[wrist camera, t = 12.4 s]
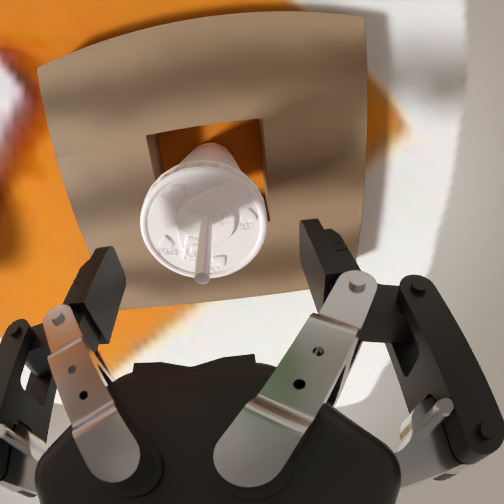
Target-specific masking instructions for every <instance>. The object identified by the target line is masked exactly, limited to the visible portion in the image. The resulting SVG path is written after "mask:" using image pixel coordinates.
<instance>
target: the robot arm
mask: <svg viewBox="0 0 504 504" xmlns="http://www.w3.org/2000/svg"><path fill="white" fill-rule="evenodd" d="M299 252H300V261H301V265H302V268H303V271H304V274H305V277H306V280H307V282H308V285H309V288H310V291H311V294H312V297H313V300H314V303H315V306H316V309H317V312H318V314H316V313H312V314H311V315H310V317H309V318H308V320H307V321H306V323H305V325H304V326H303V328H302V329H301V331H300V332H299V334H298V336H297V337H296V339H295V340H294V342H293V343H292V345H291V347H290V348H289V350H288V351H287V353H286V354H285V356H284V357H283V359H282V360H281V362H280V363H279V365H278V366H277V367H274V366H271V365H268V364H263V363H256V361H255V355H254V354H249V355H241V356H232V357H223V358H220V359H217V360H213V361H210V362H207V363H204V364H200V365H197V366H193V367H187V366H181V365H175V364H169V363H163V362H153V363H134V367H133V372H132V373H129V374H126V375H124V376H122V377H120V378H118V379H117V380H115V378H114V377H113V375H112V373H111V371H110V370H109V368H108V366H107V364H106V362H105V361H104V359H103V357H102V355H101V353H100V352H99V350H98V349H97V348H98V345H99V344H109V342H110V338H111V335H112V331H113V328H114V324H115V321H116V317H117V314H118V310H119V307H120V304H121V301H122V297H123V294H124V291H125V288H126V276H125V273H124V270H123V268H122V266H121V263H120V261H119V258H118V256H117V253H116V251H115V249H114V247H113V246H106V247H100V248H96V249H95V251H94V252H93V254H92V256H91V258H90V260H88V261H87V262H86V263H85V264H84V265H83V266H82V267H81V268H80V270H79V272H78V274H77V276H76V278H75V280H74V282H73V284H72V286H71V288H70V290H69V292H68V294H67V296H66V298H65V300H64V302H63V305H58V306H56V307H54V308H53V309H51V310H50V311H49V312H48V313H47V314H46V316H45V318H44V320H43V323H42V324H39V325H36V326H33V327H31V326H30V325H29V323H28V322H27V321H26V320H25V319H19V320H16V321H15V322H13V323H12V324H11V325H10V326H9V327H8V328H7V330H6V332H5V334H4V336H3V338H2V341H1V343H0V485H1V486H3V487H5V488H7V489H9V490H11V491H14V492H18V493H20V494H23V495H25V496H27V497H35V496H36V495H38V497H39V500H40V504H395V502H396V499H397V495H398V493H399V491H400V490H403V489H406V488H409V487H412V486H415V485H418V484H421V483H423V482H426V481H428V480H431V479H434V480H446V479H448V478H450V477H452V476H454V475H456V474H458V473H459V472H461V471H463V470H465V469H467V468H468V467H470V466H472V465H473V464H475V463H477V462H478V461H480V460H482V459H483V458H485V457H487V456H488V455H490V454H491V453H493V452H494V451H495V450H497V449H498V448H499V447H500V446H501V444H502V442H503V440H504V420H503V418H502V415H501V413H500V410H499V408H498V406H497V403H496V401H495V398H494V396H493V394H492V392H491V389H490V387H489V385H488V382H487V380H486V378H485V376H484V374H483V372H482V370H481V368H480V366H479V363H478V361H477V360H476V357H475V355H474V353H473V352H472V350H471V348H470V346H469V344H468V342H467V340H466V338H465V336H464V335H463V333H462V331H461V329H460V327H459V326H458V324H457V322H456V320H455V319H454V317H453V315H452V314H451V312H450V310H449V308H448V307H447V305H446V304H445V302H444V300H443V298H442V297H441V295H440V293H439V292H438V290H437V289H436V287H435V285H434V284H433V283H432V282H431V281H430V280H429V279H427V278H425V277H423V276H420V275H409V276H406V277H404V278H403V279H402V280H401V282H400V285H399V286H392V285H381V284H377V282H376V280H375V279H374V277H373V276H371V275H370V274H368V273H366V272H363V271H361V270H360V268H359V266H358V265H357V263H356V261H355V259H354V258H353V256H352V254H351V252H350V251H349V250H348V247H347V245H346V244H345V242H344V240H343V239H342V237H341V235H340V234H338V233H337V232H336V231H334V230H333V229H324V228H323V226H322V225H321V223H320V221H319V219H318V218H315V219H307V220H300V222H299ZM363 341H366V342H381V343H385V345H386V347H387V350H388V353H389V355H390V358H391V361H392V363H393V366H394V369H395V372H396V375H397V377H398V380H399V383H400V386H401V389H402V392H403V395H404V398H405V401H406V405H407V408H408V411H409V414H410V415H409V416H408V417H407V418H406V419H405V421H404V422H403V424H402V426H401V429H400V440H401V443H400V448H399V450H398V452H396V453H393V451H392V450H391V449H390V448H389V447H388V446H387V445H386V444H385V443H383V442H382V441H380V440H379V439H377V438H376V437H375V436H373V435H372V434H370V433H369V432H367V431H366V430H364V429H363V428H362V427H360V426H359V425H357V424H356V423H355V422H353V421H352V420H350V419H349V418H348V417H346V416H345V415H343V414H342V413H341V412H339V411H338V410H337V409H335V408H334V406H335V404H336V402H337V400H338V398H339V396H340V394H341V392H342V389H343V387H344V384H345V382H346V379H347V377H348V375H349V373H350V370H351V368H352V366H353V364H354V361H355V359H356V357H357V355H358V352H359V350H360V348H361V345H362V343H363ZM24 365H26V366H27V367H28V368H29V369H30V370H31V373H30V376H29V380H28V383H27V387H26V390H24V389H23V388H22V386H21V382H20V378H21V374H22V371H23V368H24ZM56 389H58V392H59V394H60V397H61V400H62V402H63V405H64V407H65V409H66V412H67V415H68V417H69V419H70V421H71V425H70V426H69V427H68V428H67V429H66V430H65V432H63V434H62V435H61V436H60V437H59V438H58V439H57V440H56V441H55V442H54V443H53V444H52V445H51V446H50V447H49V448H48V449H47V446H46V441H47V434H48V429H49V423H50V418H51V412H52V408H53V403H54V398H55V394H56Z"/></svg>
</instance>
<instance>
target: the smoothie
mask: <svg viewBox="0 0 504 504" xmlns="http://www.w3.org/2000/svg"><path fill="white" fill-rule="evenodd" d="M140 228H141V233H142V237H143V240H144V242H145V244H146V246H147V248H148V250H149V251H150V252H151V254H152V255H153V256H154V257H155V258H156V259H157V260H158V261H159V262H160V263H161V264H162V265H164V266H165V267H167V268H168V269H170V270H172V271H174V272H176V273H178V274H181V275H184V276H188V277H193V278H194V279H195V281H196V282H197V283H198V284H206V283H208V282H209V280H210V278H217V277H222V276H225V275H228V274H231V273H234V272H236V271H238V270H239V269H241V268H243V267H244V266H246V265H247V264H248V263H249V262H250V261H251V260H252V259H253V258H254V257H255V256H256V255H257V254H258V252H259V251H260V249H261V247H262V245H263V243H264V240H265V237H266V233H267V212H266V208H265V203H264V199H263V197H262V195H261V193H260V191H259V190H258V188H257V186H256V184H255V183H254V182H253V181H252V180H251V179H250V178H249V177H247V176H246V175H245V174H244V173H243V172H242V171H241V170H240V168H239V166H238V164H237V163H236V161H235V159H234V158H233V156H232V154H231V153H230V151H229V150H228V149H227V148H225V147H224V146H222V145H220V144H217V143H204V144H201V145H199V146H197V147H196V148H194V149H193V150H192V151H191V152H190V153H189V154H188V155H187V156H186V157H185V158H184V159H183V161H182V162H181V163H180V164H179V165H176V166H174V167H173V168H171V169H169V170H168V171H166V172H165V173H163V174H162V175H161V176H160V177H159V178H158V179H157V180H156V181H155V182H154V183H153V184H152V186H151V187H150V189H149V191H148V193H147V195H146V197H145V200H144V203H143V206H142V210H141V215H140Z"/></svg>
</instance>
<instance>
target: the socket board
mask: <svg viewBox="0 0 504 504" xmlns="http://www.w3.org/2000/svg"><path fill="white" fill-rule="evenodd" d="M37 72H38V79H39V85H40V90H41V96H42V101H43V106H44V111H45V116H46V120H47V124H48V129H49V133H50V137H51V141H52V145H53V148H54V152H55V156H56V159H57V163H58V166H59V170H60V173H61V176H62V179H63V182H64V186H65V189H66V192H67V195H68V198H69V201H70V203H71V206H72V209H73V212H74V215H75V217H76V220H77V223H78V225H79V228H80V231H81V233H82V236H83V238H84V241H85V243H86V246H87V248H88V250H89V253H90V255H91V256H92V254H93V252H94V251H95V249H96V248H100V247H106V246H113V247H114V249H115V251H116V253H117V256H118V258H119V261H120V263H121V266H122V268H123V270H124V273H125V276H126V288H125V291H124V294H123V297H122V301H121V304H120V307H119V310H122V309H136V308H148V307H160V306H171V305H181V304H191V303H201V302H211V301H220V300H229V299H237V298H246V297H254V296H262V295H270V294H278V293H285V292H293V291H300V290H307V289H310V288H309V285H308V282H307V280H306V277H305V274H304V271H303V268H302V265H301V261H300V252H299V222H300V220H307V219H315V218H318V219H319V221H320V223H321V225H322V226H323V228H324V229H333V230H334V231H336V232H337V233H338V234H340V235H341V237H342V239H343V240H344V242H345V244H346V245H347V247H348V250H349V251H350V252H351V254H352V256H353V258H354V259H355V261H356V258H357V250H358V242H359V234H360V225H361V216H362V205H363V194H364V181H365V166H366V146H367V58H366V39H365V25H364V16H356V15H348V14H338V13H325V12H305V11H269V12H248V13H235V14H225V15H216V16H208V17H201V18H195V19H189V20H183V21H178V22H173V23H168V24H163V25H159V26H154V27H150V28H146V29H142V30H138V31H134V32H131V33H127V34H124V35H120V36H117V37H114V38H111V39H108V40H105V41H102V42H99V43H96V44H93V45H90V46H88V47H85V48H82V49H80V50H77V51H75V52H72V53H70V54H67V55H65V56H62V57H60V58H58V59H55V60H53V61H51V62H49V63H47V64H45V65H42V66H40V67H38V68H37ZM250 119H259V130H260V141H261V153H262V166H263V178H264V191H265V208H266V212H267V233H266V237H265V240H264V243H263V245H262V247H261V249H260V251H259V252H258V254H257V255H256V256H255V257H254V258H253V259H252V260H251V261H250V262H249V263H248V264H247V265H246V266H244V267H243V268H241V269H239V270H238V271H236V272H234V273H231V274H228V275H225V276H222V277H217V278H210V280H209V282H208V283H206V284H198V283H197V282H196V281H195V279H194V278H193V277H188V276H184V275H181V274H178V273H176V272H174V271H172V270H170V269H168V268H167V267H165V266H164V265H162V264H161V263H160V262H159V261H158V260H157V259H156V258H155V257H154V256H153V255H152V254H151V252H150V251H149V250H148V248H147V246H146V244H145V242H144V240H143V237H142V233H141V228H140V215H141V210H142V206H143V203H144V200H145V197H146V195H147V193H148V191H149V189H150V187H151V186H152V184H153V183H154V182H155V181H156V180H157V179H158V178H159V177H160V176H161V175H162V174H163V173H164V169H163V164H162V159H161V154H160V149H159V144H158V139H157V133H161V132H166V131H171V130H177V129H183V128H189V127H195V126H202V125H208V124H216V123H223V122H231V121H240V120H250Z"/></svg>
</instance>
